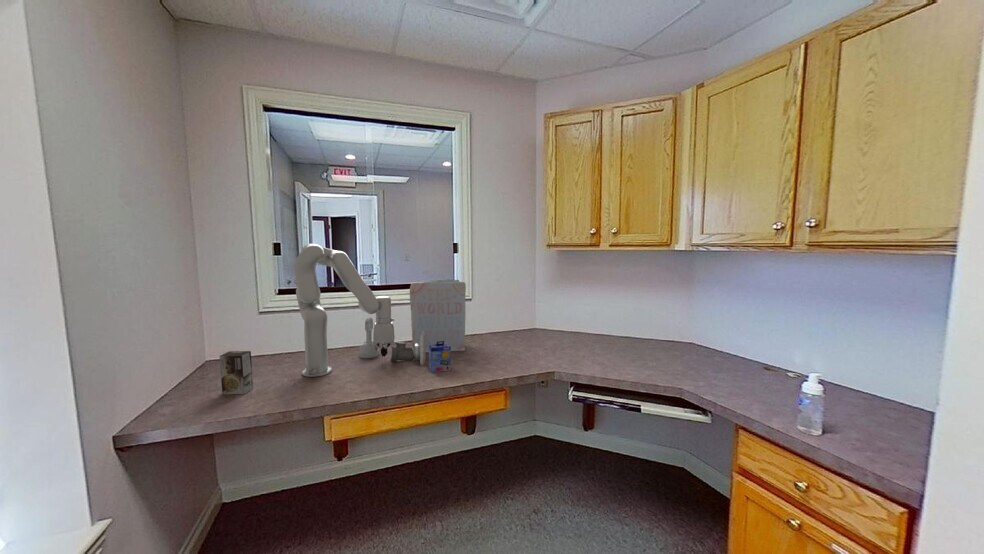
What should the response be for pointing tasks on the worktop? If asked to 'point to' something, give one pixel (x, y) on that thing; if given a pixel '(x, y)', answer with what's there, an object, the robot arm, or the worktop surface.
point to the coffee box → (236, 372)
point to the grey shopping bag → (438, 312)
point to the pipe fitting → (401, 352)
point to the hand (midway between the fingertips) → (384, 355)
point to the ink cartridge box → (439, 357)
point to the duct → (420, 349)
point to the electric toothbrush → (368, 342)
